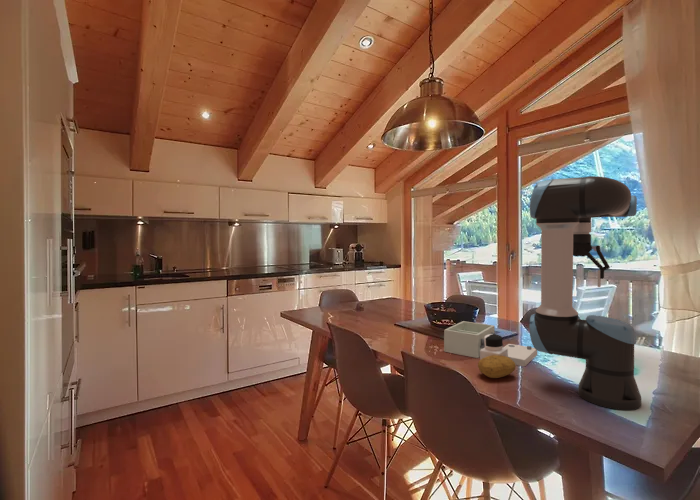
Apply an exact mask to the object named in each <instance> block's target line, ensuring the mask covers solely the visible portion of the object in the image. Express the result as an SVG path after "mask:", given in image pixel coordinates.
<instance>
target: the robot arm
mask: <svg viewBox="0 0 700 500" xmlns="http://www.w3.org/2000/svg"><path fill="white" fill-rule="evenodd" d="M637 202H638V198H637V196H636V195H632V193H631V190H630V189H629V187H628V186H627V185H626V184H624V182H622V181H619V180H616V179H613V178H609V177H606V176H596V175H595V176H593V175H590V176H583V177H567V178H566V177H565V178H551V179H547V180H542V181H541V180H540V181H538V182H537V183H536V184H535V185H534V187H533V189H532V192H531V197H530V202H529V215H530V218H532V219H534V220H535V224H536V226H537V227H538V228H540V230H541V233H540V234H541V245H540V247H541V248H540V249H541V250H540V251H541V252H540V254H541V255H540V256H541V257H540V258H541V260H540V261H541V262H540V264H541V265H540V266H541V267H540V268H541V271H540V273H541V274H540V276H541V277H540V279H541V281H540V282H541V283H540V286H541V287H540V294H541V295H540V300H541V301H540V305H539V306H538V307H537V308H536V309H535V313H534V314H531V315H530V318H529V326H528V327H529V330H528V331H529V337H530V340H531V341H530V342H531V344H532V346H533V348H535V349H536V350H537V352H539V353H540V352H541V353H545V354H548V355H556V356H562V357H568V358H575V359H580V360H585V369H584V372H583V373H582V376H581V379H580V381H579V383H578V387H577V390H578V391H577V393H578V395H579V397H580V398H581V399H583V400H585V401H587V402H589V403H591V404H594V405H597V406H600V407H604V408H606V409H607V408H608V409H613V410H619V411H620V410H623V411H631V410H636V409H637V410H638V409H640V408H641V407H642V396H641V393H640V390H639V387H638V384H637V382H636V379H635V378H636V377H635V345H636V342H637V341H636V339H635V337H636V336H635V329H634V327H633V326H632V325H631V324H630V323H627V322H625V321H622V320H620V319H617V318H614V317H613V318H612V317H608V316H605V315H602V316H601V315H594V314H593V315H591V314H590V315H587V316H586V318H585V319H580V318H579V311H577V310H576V309H575V308H574V306H573V299H574V297H573V291H574V290H573V288H574V286H573V284H574V280H573V279H574V257H587V258H588V259H589V260H590V261H591V262H592V263H593V264H594V265H595V266H596V267H597V269H599V270H597V288H601V284H602V283H601V279H603V280H604V278H605V271H606V270H609V269H610V268H611V267H610V265H609V263H608V262H607V259H606V258H605V256H604V254H603V252H602V251H601V249H602V248H601V246H600V245H594V246H592V234H590V233H591V232H592V218H628V217H634V216H636V215H637V211H638V210H637V208H638V207H637V205H638V204H637ZM592 250H594V252H596V253H597V256H598V258H599V259H600V262H602V264H603V265H602V264H601V263H600V262H599V261H598V260H597V259H596V258H595V257H594V256H593V255H592V253H590V252H591V251H592Z"/></svg>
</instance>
